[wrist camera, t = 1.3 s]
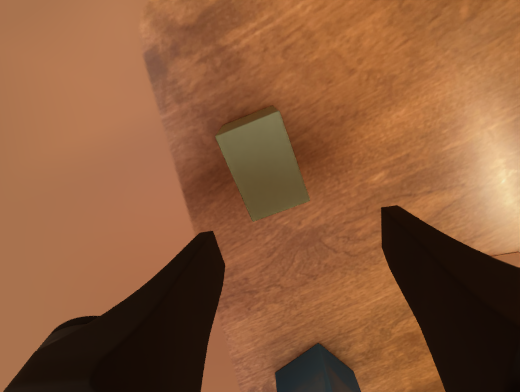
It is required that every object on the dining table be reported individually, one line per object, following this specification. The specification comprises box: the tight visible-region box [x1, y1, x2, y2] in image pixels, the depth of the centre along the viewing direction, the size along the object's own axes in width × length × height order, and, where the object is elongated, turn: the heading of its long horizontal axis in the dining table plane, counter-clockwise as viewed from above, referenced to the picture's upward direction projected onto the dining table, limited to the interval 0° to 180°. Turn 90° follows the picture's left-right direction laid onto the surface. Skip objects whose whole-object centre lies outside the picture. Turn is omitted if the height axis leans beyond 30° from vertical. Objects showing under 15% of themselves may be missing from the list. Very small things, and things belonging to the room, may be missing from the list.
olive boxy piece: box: [215, 106, 310, 222], centre depth 19 cm, size 4×6×5 cm, turn 21°
